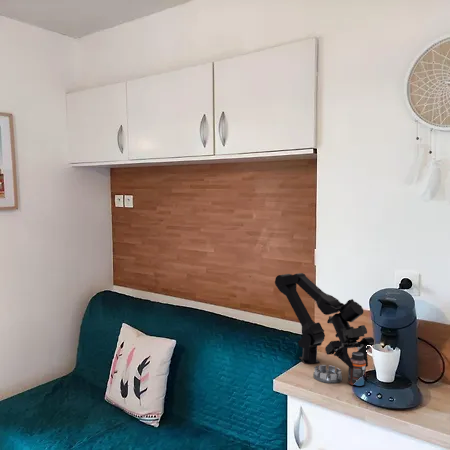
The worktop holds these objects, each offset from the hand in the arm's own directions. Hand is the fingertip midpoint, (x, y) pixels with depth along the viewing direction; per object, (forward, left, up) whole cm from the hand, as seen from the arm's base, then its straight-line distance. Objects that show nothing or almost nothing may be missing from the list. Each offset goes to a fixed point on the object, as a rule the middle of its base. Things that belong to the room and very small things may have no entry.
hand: (359, 367), depth 162 cm
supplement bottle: (-1, 0, -7) cm, 7 cm away
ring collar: (-8, -8, -7) cm, 14 cm away
